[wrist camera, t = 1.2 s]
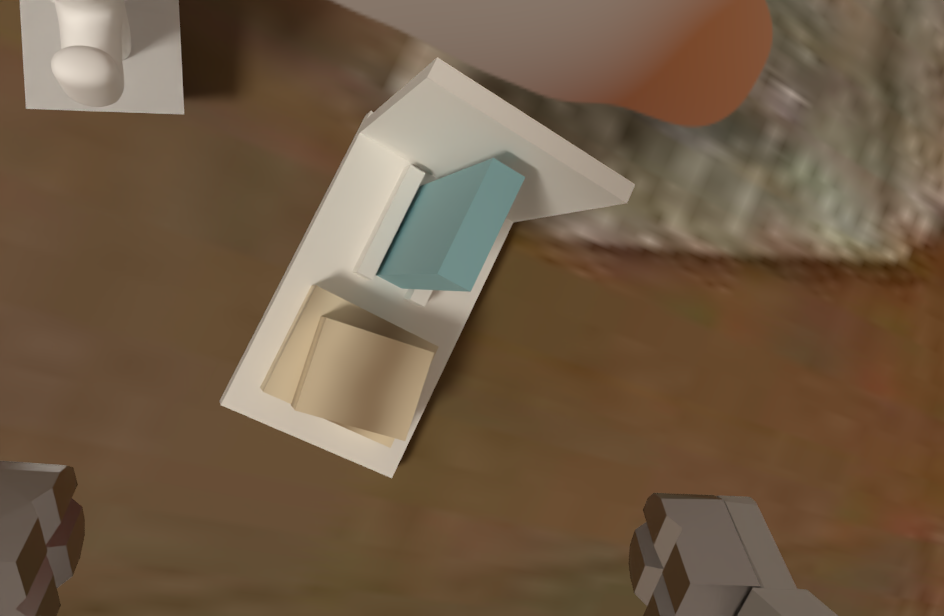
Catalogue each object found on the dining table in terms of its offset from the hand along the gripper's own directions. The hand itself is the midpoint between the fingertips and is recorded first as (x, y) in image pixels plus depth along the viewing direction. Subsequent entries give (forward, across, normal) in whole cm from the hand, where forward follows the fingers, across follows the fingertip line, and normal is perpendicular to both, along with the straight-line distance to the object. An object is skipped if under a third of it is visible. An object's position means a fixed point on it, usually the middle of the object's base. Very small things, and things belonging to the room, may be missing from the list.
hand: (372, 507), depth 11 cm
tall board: (+34, -2, +15) cm, 37 cm away
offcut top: (+27, 0, +20) cm, 34 cm away
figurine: (+36, +15, +7) cm, 40 cm away
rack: (+32, 0, +18) cm, 37 cm away
